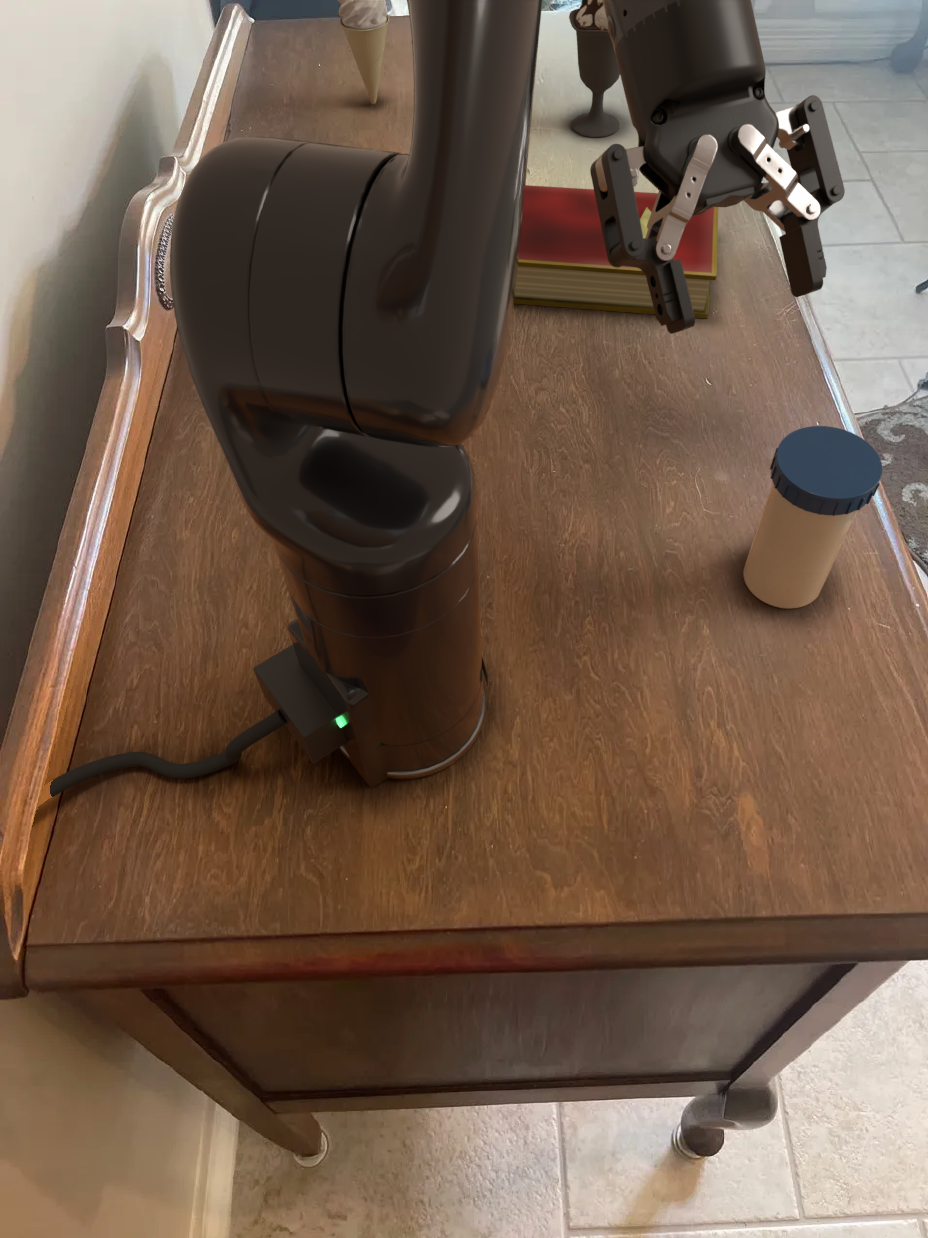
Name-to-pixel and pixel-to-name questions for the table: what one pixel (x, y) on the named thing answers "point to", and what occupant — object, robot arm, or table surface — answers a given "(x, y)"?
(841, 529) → the jar
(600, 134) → the sundae
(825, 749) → the table surface
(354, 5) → the ice cream cone
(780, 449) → the jar lid
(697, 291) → the hardcover book
